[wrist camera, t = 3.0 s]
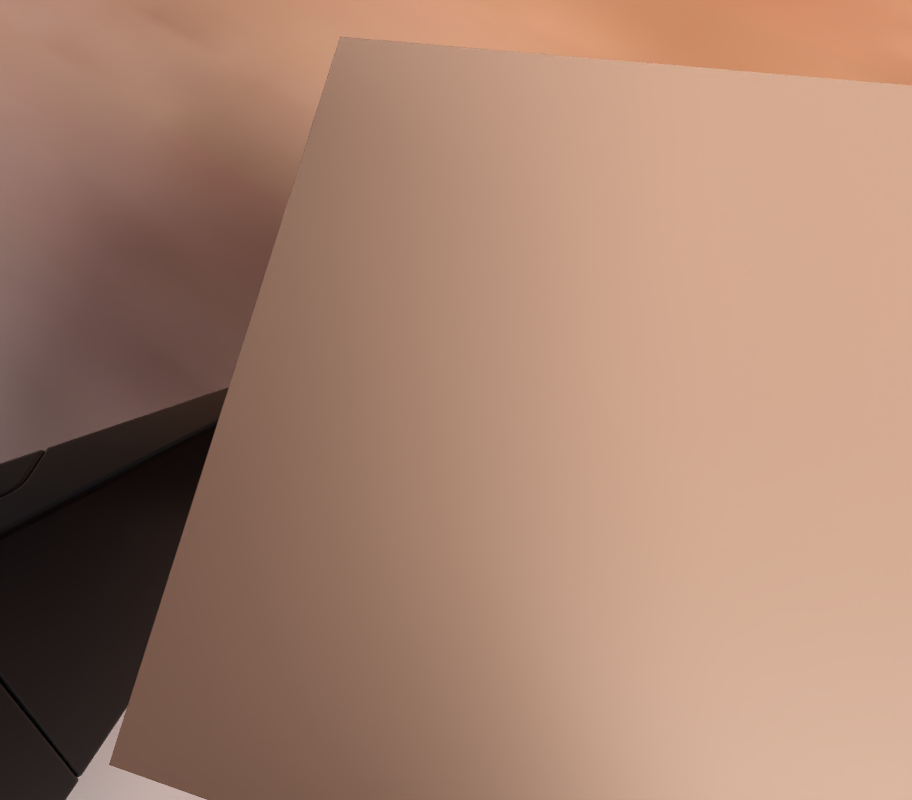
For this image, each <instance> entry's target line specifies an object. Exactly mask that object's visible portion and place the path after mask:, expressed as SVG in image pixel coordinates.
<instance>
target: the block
mask: <svg viewBox="0 0 912 800" xmlns="http://www.w3.org/2000/svg"><path fill="white" fill-rule="evenodd" d="M109 765H111V766H114V767H117V768H120V769H123V770H126V771H128V772H131V773H134V774H137V775H140V776H142V777H145V778H148V779H151V780H154V781H156V782H159V783H162V784H165V785H168V786H171V787H173V788H176V789H179V790H182V791H185V792H187V793H190V794H193V795H196V796H199V797H201V798H204V799H207V800H912V86H911V85H899V84H887V83H875V82H864V81H852V80H840V79H829V78H817V77H805V76H794V75H782V74H770V73H758V72H747V71H735V70H723V69H712V68H700V67H688V66H677V65H665V64H653V63H641V62H630V61H618V60H606V59H595V58H583V57H571V56H560V55H548V54H536V53H525V52H513V51H501V50H489V49H478V48H466V47H454V46H443V45H431V44H419V43H408V42H396V41H384V40H372V39H361V38H349V37H340V38H339V42H338V45H337V48H336V51H335V54H334V57H333V61H332V64H331V67H330V70H329V73H328V76H327V79H326V83H325V86H324V89H323V92H322V95H321V98H320V102H319V105H318V108H317V111H316V114H315V117H314V120H313V124H312V127H311V130H310V133H309V136H308V139H307V143H306V146H305V149H304V152H303V155H302V158H301V161H300V165H299V168H298V171H297V174H296V177H295V180H294V184H293V187H292V190H291V193H290V196H289V199H288V202H287V206H286V209H285V212H284V215H283V218H282V221H281V224H280V228H279V231H278V234H277V237H276V240H275V243H274V247H273V250H272V253H271V256H270V259H269V262H268V265H267V269H266V272H265V275H264V278H263V281H262V284H261V288H260V291H259V294H258V297H257V300H256V303H255V306H254V310H253V313H252V316H251V319H250V322H249V325H248V329H247V332H246V335H245V338H244V341H243V344H242V347H241V351H240V354H239V357H238V360H237V363H236V366H235V370H234V373H233V376H232V379H231V382H230V385H229V388H228V392H227V395H226V398H225V401H224V404H223V407H222V410H221V414H220V417H219V420H218V423H217V426H216V429H215V433H214V436H213V439H212V442H211V445H210V448H209V451H208V455H207V458H206V461H205V464H204V467H203V470H202V474H201V477H200V480H199V483H198V486H197V489H196V492H195V496H194V499H193V502H192V505H191V508H190V511H189V515H188V518H187V521H186V524H185V527H184V530H183V533H182V537H181V540H180V543H179V546H178V549H177V552H176V556H175V559H174V562H173V565H172V568H171V571H170V574H169V578H168V581H167V584H166V587H165V590H164V593H163V597H162V600H161V603H160V606H159V609H158V612H157V615H156V619H155V622H154V625H153V628H152V631H151V634H150V637H149V641H148V644H147V647H146V650H145V653H144V656H143V660H142V663H141V666H140V669H139V672H138V675H137V678H136V682H135V685H134V688H133V691H132V694H131V697H130V701H129V704H128V707H127V710H126V713H125V716H124V719H123V723H122V726H121V729H120V732H119V735H118V738H117V742H116V745H115V748H114V751H113V754H112V757H111V760H110V764H109Z"/></svg>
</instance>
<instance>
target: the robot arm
mask: <svg viewBox="0 0 912 800" xmlns="http://www.w3.org/2000/svg"><path fill="white" fill-rule="evenodd" d="M228 388H229V387H228ZM228 388H225V389H222V390H219V391H216V392H213V393H210V394H207V395H204V396H201V397H198V398H195V399H192V400H189V401H186V402H183V403H181V404H178V405H175V406H172V407H169V408H166V409H163V410H160V411H157V412H154V413H151V414H148V415H145V416H142V417H139V418H136V419H133V420H130V421H127V422H124V423H121V424H118V425H115V426H112V427H109V428H106V429H103V430H100V431H97V432H94V433H91V434H88V435H85V436H82V437H79V438H76V439H73V440H70V441H67V442H64V443H61V444H58V445H55V446H52V447H49V448H48V449H47V450H46V451H43V450H40V451H37V452H34V453H31V454H28V455H25V456H22V457H19V458H16V459H13V460H10V461H7V462H4V463H1V464H0V800H66V798H67V797H68V795H69V794H70V792H71V791H72V789H73V788H74V786H75V785H76V783H77V782H78V777H79V776H81V775H82V774H83V772H84V771H85V769H86V768H87V766H88V765H89V763H90V762H91V760H92V759H93V757H94V756H95V754H96V753H97V751H98V750H99V748H100V747H101V745H102V744H103V742H104V741H105V739H106V738H107V736H108V735H109V733H110V732H111V730H112V729H113V727H114V726H115V724H116V723H117V721H118V720H119V718H120V717H121V715H122V714H123V712H124V711H125V709H126V708H127V706H128V704H129V701H130V697H131V694H132V691H133V688H134V685H135V682H136V678H137V675H138V672H139V669H140V666H141V663H142V660H143V656H144V653H145V650H146V647H147V644H148V641H149V637H150V634H151V631H152V628H153V625H154V622H155V619H156V615H157V612H158V609H159V606H160V603H161V600H162V597H163V593H164V590H165V587H166V584H167V581H168V578H169V574H170V571H171V568H172V565H173V562H174V559H175V556H176V552H177V549H178V546H179V543H180V540H181V537H182V533H183V530H184V527H185V524H186V521H187V518H188V515H189V511H190V508H191V505H192V502H193V499H194V496H195V492H196V489H197V486H198V483H199V480H200V477H201V474H202V470H203V467H204V464H205V461H206V458H207V455H208V451H209V448H210V445H211V442H212V439H213V436H214V433H215V429H216V426H217V423H218V420H219V417H220V414H221V410H222V407H223V404H224V401H225V398H226V395H227V392H228Z"/></svg>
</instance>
